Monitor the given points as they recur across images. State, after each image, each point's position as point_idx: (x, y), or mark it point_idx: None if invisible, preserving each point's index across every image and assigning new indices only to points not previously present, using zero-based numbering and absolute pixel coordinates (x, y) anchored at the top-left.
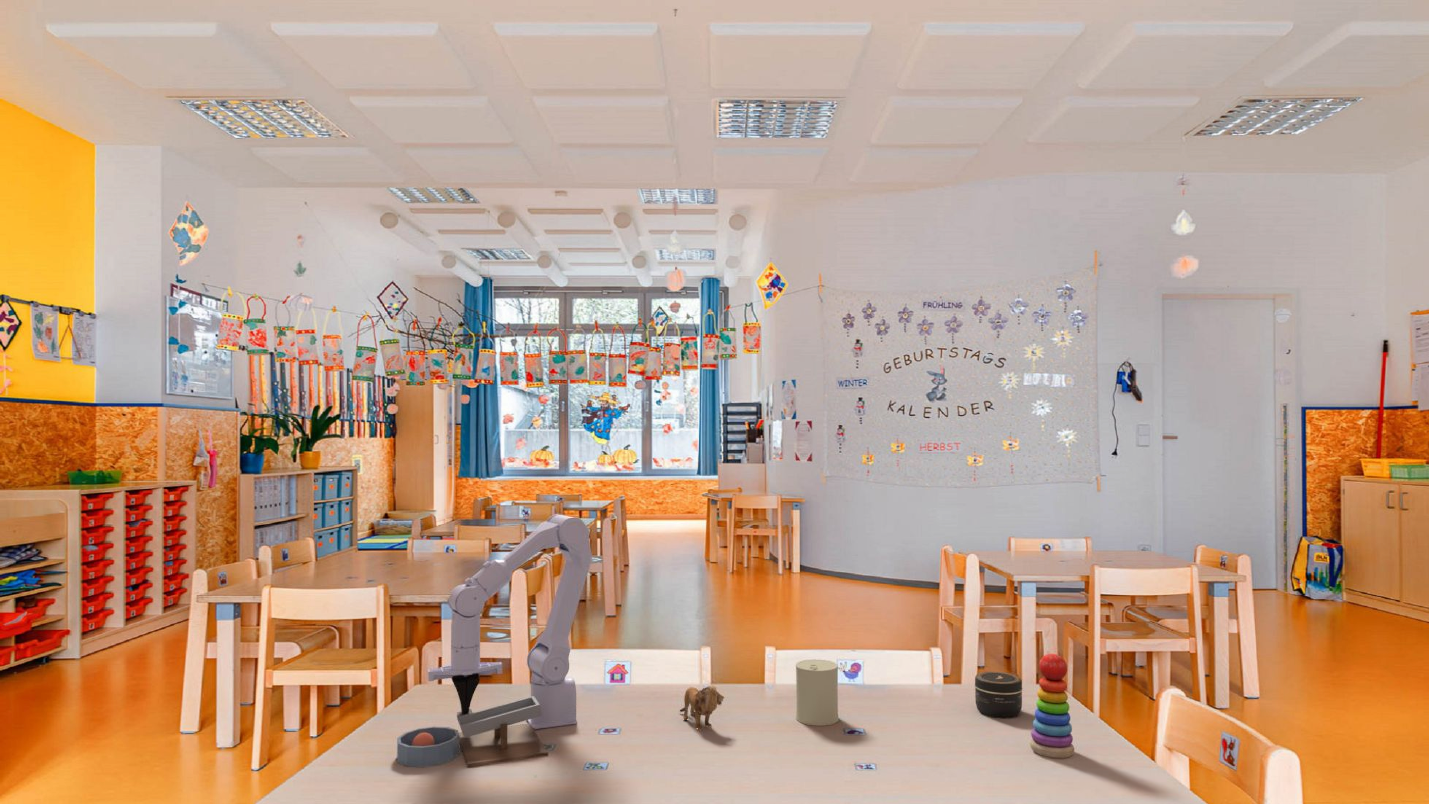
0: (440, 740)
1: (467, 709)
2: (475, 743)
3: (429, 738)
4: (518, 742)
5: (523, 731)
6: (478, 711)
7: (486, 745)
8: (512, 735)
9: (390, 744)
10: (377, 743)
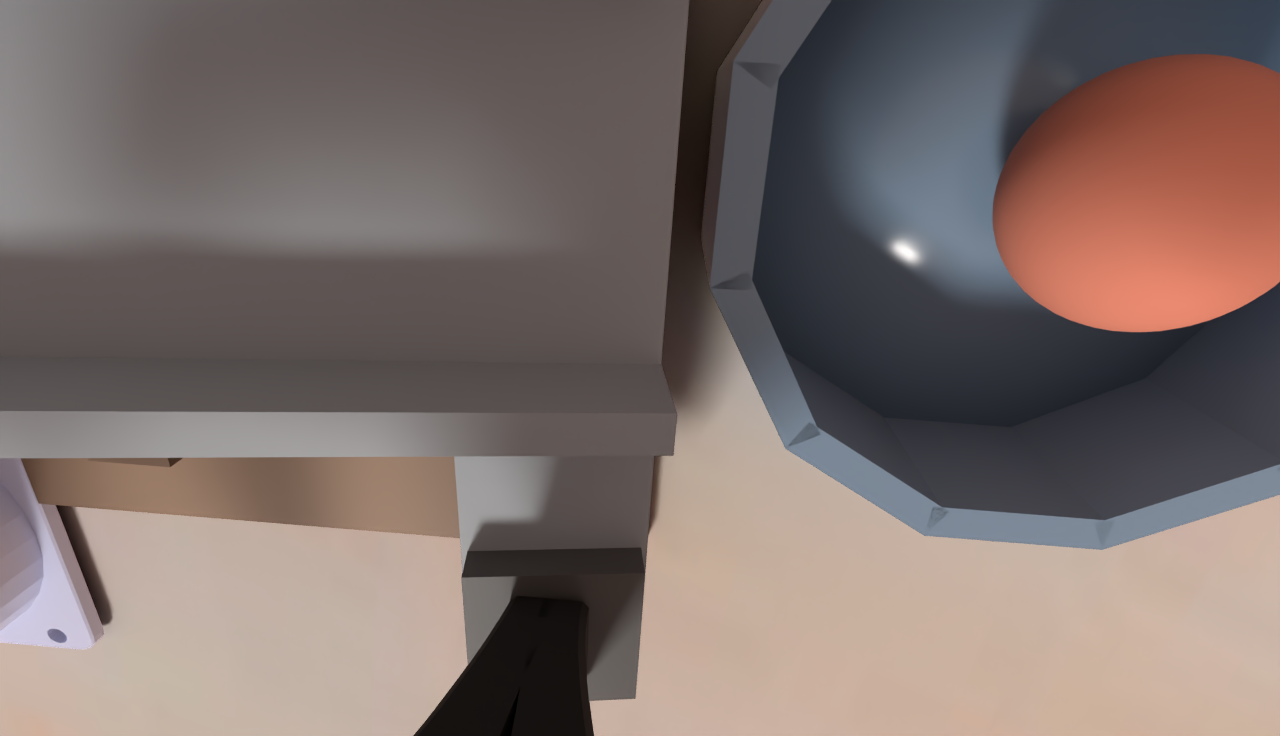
0: (838, 394)
1: (515, 626)
2: None
3: (1164, 112)
4: None
5: None
6: (356, 439)
7: None
8: None
9: (1159, 587)
10: (1229, 645)
